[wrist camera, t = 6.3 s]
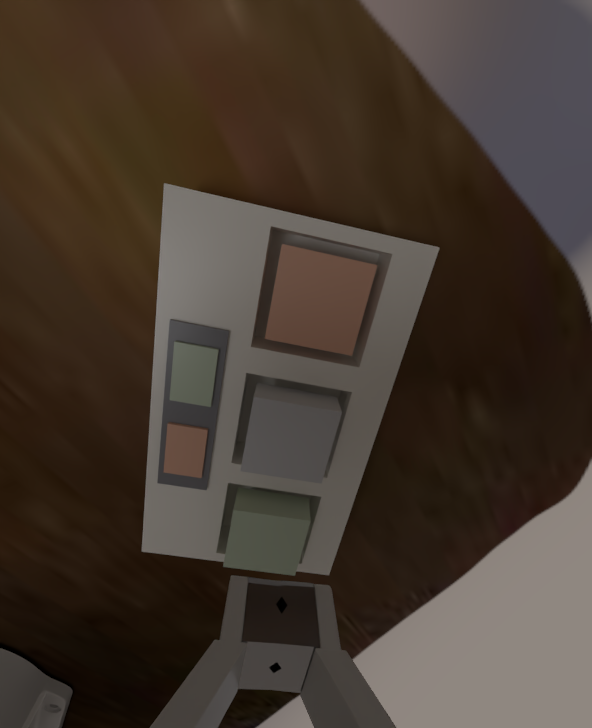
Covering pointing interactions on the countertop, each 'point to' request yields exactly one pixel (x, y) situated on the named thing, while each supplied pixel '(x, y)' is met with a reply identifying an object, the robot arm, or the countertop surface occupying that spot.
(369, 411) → the keypad
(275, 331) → the terracotta key
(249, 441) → the grey key
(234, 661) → the robot arm
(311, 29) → the countertop surface
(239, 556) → the sage key
